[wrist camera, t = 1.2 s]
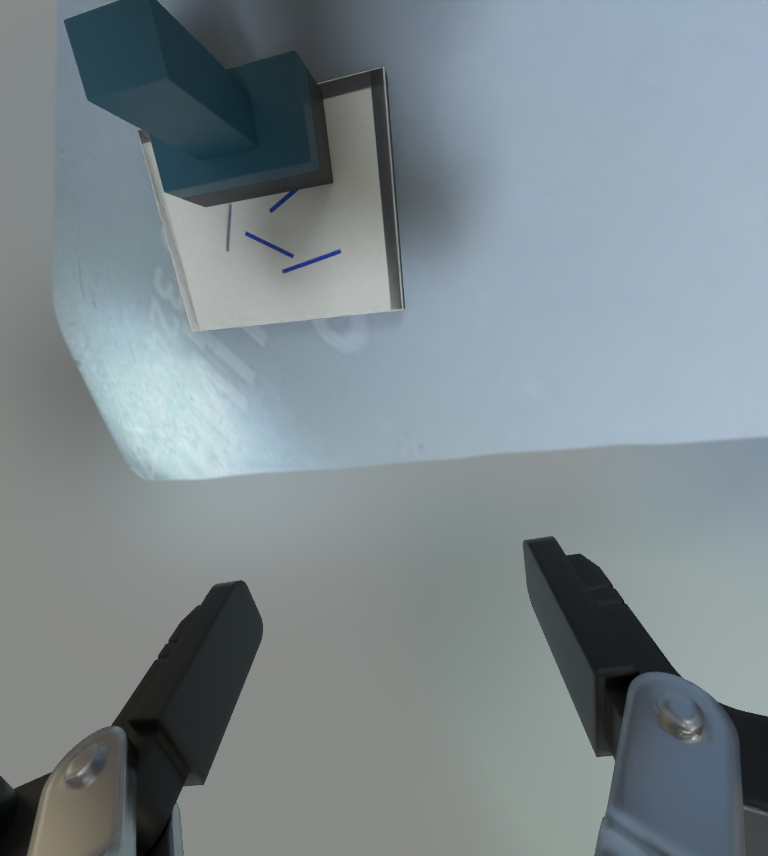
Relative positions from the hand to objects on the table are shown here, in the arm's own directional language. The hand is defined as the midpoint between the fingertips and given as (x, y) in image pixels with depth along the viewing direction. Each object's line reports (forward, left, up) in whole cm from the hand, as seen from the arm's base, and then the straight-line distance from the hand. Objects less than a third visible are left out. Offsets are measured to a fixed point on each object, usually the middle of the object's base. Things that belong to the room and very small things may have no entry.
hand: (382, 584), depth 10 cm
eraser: (-21, 0, -19) cm, 28 cm away
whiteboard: (-17, -2, -20) cm, 27 cm away
